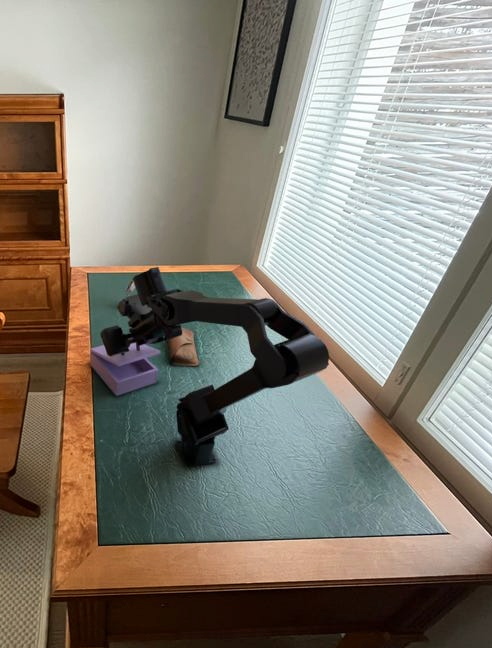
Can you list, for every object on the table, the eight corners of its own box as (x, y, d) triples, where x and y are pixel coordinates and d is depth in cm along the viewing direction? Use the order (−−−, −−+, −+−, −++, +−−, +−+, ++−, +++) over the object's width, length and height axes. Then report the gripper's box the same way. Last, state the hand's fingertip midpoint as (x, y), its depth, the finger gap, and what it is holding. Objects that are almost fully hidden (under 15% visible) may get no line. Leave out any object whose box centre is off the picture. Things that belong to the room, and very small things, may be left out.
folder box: (156, 382, 100) (158, 369, 97) (116, 396, 95) (117, 382, 92) (127, 353, 110) (128, 340, 107) (89, 364, 105) (90, 351, 103)
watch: (124, 304, 134) (126, 275, 127) (147, 305, 133) (150, 276, 127) (124, 312, 129) (126, 282, 123) (148, 313, 129) (151, 283, 122)
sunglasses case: (201, 365, 105) (192, 347, 102) (177, 374, 108) (167, 356, 104) (193, 331, 120) (185, 314, 116) (172, 339, 122) (163, 323, 119)
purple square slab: (160, 353, 94) (159, 335, 93) (118, 366, 90) (116, 347, 88) (128, 340, 107) (127, 325, 106) (90, 351, 103) (88, 335, 101)
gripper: (177, 281, 86) (146, 306, 101) (105, 297, 79) (82, 321, 93) (194, 327, 85) (160, 345, 99) (122, 347, 78) (97, 364, 92)
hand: (126, 343), depth 96 cm, fingers closed on purple square slab, 5 cm apart
